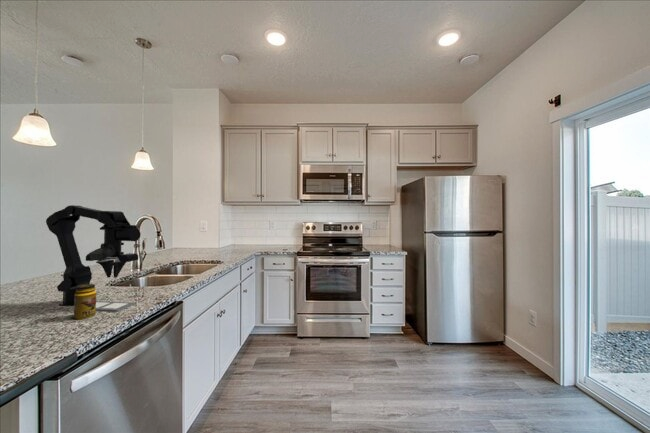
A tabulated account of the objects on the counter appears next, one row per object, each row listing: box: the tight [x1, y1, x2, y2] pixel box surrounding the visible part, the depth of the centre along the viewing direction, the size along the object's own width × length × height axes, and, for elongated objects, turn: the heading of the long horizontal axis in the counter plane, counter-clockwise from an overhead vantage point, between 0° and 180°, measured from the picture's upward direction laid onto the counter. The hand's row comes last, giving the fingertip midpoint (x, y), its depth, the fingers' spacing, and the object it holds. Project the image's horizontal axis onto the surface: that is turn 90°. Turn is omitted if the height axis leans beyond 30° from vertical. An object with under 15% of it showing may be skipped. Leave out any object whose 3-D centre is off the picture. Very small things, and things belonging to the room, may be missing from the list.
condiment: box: [62, 283, 99, 324], centre depth 96 cm, size 7×8×12 cm
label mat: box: [96, 300, 136, 313], centre depth 107 cm, size 18×9×1 cm, turn 87°
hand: (112, 277), depth 108 cm, fingers open, 3 cm apart
